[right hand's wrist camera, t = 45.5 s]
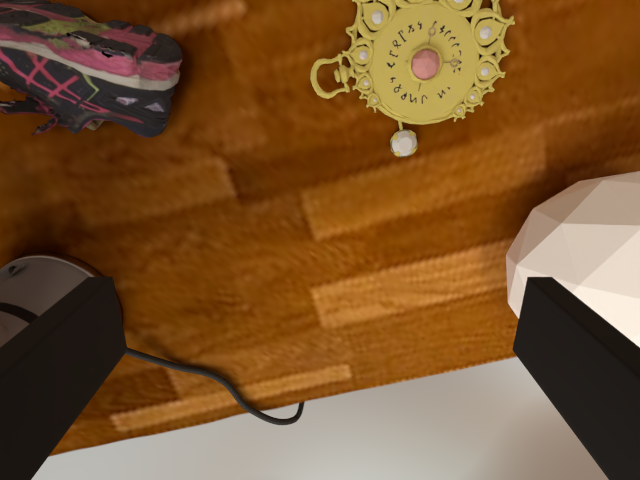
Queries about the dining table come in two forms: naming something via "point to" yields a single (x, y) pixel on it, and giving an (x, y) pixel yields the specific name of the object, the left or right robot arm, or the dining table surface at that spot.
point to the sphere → (585, 248)
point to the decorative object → (421, 60)
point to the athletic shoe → (86, 68)
